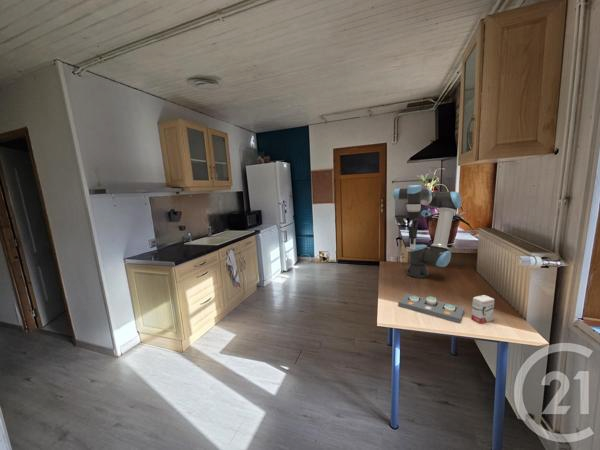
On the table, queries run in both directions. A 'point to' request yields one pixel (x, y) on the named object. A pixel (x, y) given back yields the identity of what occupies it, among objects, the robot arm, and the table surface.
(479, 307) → the ink box
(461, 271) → the table surface
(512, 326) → the table surface
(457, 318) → the board
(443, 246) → the robot arm
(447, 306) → the button
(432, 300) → the button
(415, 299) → the button
